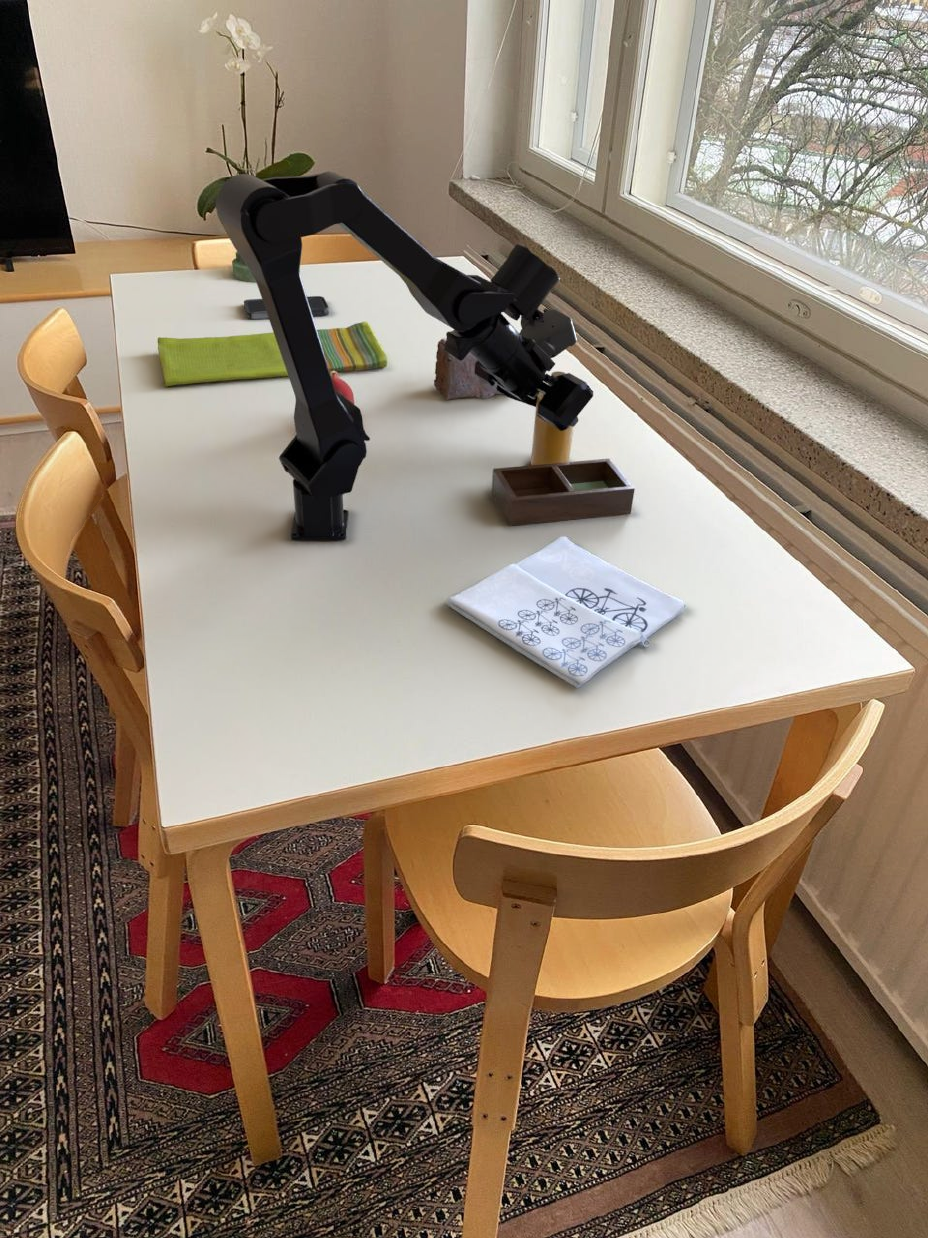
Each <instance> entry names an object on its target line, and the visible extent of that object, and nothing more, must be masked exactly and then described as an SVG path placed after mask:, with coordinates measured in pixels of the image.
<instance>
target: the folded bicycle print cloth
mask: <svg viewBox="0 0 928 1238" xmlns="http://www.w3.org/2000/svg"><path fill="white" fill-rule="evenodd" d="M444 603H445V605H447V606H448V607H449V608H450V609H452V610H453V611H455V612H457V613H458V614H459V615H461V616H463V617H465V618H466V619H468V620H469V621H471V622H472V623H474V624H475V625H477V626H478V627H480V628H482V629H483V630H484V631H486V632H488V633H489V634H491V635H492V636H494V637H495V638H497V639H498V640H500V641H501V642H503V643H504V644H506V645H507V646H509V647H510V648H512V649H514V650H515V651H517V652H518V653H519V654H521V655H523V656H524V657H526V658H528V659H529V660H531V661H532V662H534V663H536V664H537V665H539V666H541V668H544V669H546V670H547V671H549V672H550V673H551V674H554V675H555V676H557V677H558V678H559V679H561V680H563V681H564V682H566V683H568V684H569V685H571V686H573V687H575V688H576V689H579V688H581V687H582V686H583V685H584V684H585V683H587V682H588V681H589V680H590V679H592V678H594V676H596V675H597V674H598V673H599V672H600V671H601V670H603V669H604V668H606V667H607V666H610V664H612V663H613V662H615V661H616V660H617V659H619V658H620V657H621V656H623V655H624V654H626V653H627V652H629V651H630V650H631V649H633V648H634V647H636V646H637V645H638V644H640V643H641V645H642V646H643V647H644V648H648V647H649V646H650V645H651V643H650V640H649V639H648V638H649V637H650V636H651V635H653V634H654V633H656V632H657V631H658V630H660V629H661V628H662V627H663V626H665V625H666V624H667V623H670V621H672V620H674V619H675V618H676V617H677V616H679V615H680V614H681V613H682V612H683V611H684V610H685V608H686V606H687V603H686V602H685V600H683V599H681V598H677V597H674V596H673V595H670V594H667V593H666V592H664V591H662V590H660V589H658V588H656V587H654V586H653V585H651V584H649V583H647V582H645V581H643V580H641V579H639V578H637V577H635V576H633V575H631V574H629V573H627V572H625V571H624V570H622V569H620V568H619V567H617V566H615V565H613V564H611V563H609V562H606V561H605V560H603V559H601V558H599V557H598V556H596V555H594V554H593V553H592V552H591V553H590V552H589V551H587V549H584V548H583V547H581V546H579V545H578V544H576V543H574V542H572V541H570V539H569V538H568V537H566V536H565V535H562V536H559V537H557V538H556V539H555V540H554V541H553V542H551V543H549V544H548V545H546V546H544V547H543V548H541V549H540V550H538V551H537V552H535V553H532V554H531V555H529V556H526V557H525V558H523V559H521V560H519V561H517V562H515V563H510V564H507V565H505V566H503V567H502V568H501V569H500V570H498V571H496V572H494V573H492V574H491V575H488V576H487V577H485V578H484V579H482V580H481V581H479V582H478V583H476V584H474V585H472V586H471V587H468V588H466V589H464V590H462V591H460V592H459V593H458V594H456V595H452V596H450V597H448V598H447V600H446V601H445V602H444ZM645 642H646V643H647V645H645Z"/></svg>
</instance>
